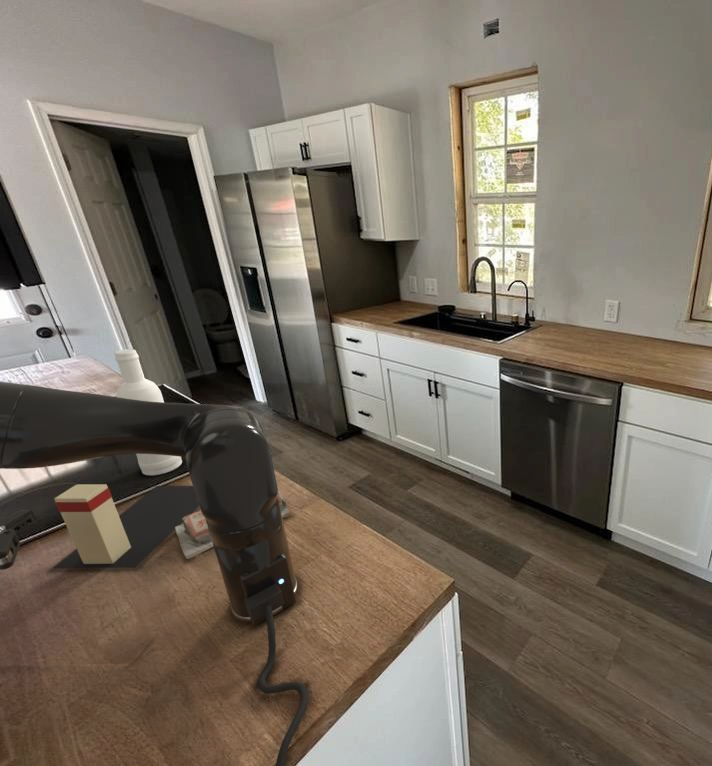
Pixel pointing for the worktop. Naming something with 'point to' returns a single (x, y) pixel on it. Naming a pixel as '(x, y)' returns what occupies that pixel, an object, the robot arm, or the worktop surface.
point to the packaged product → (204, 531)
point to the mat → (146, 525)
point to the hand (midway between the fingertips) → (28, 515)
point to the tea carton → (93, 523)
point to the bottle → (143, 391)
